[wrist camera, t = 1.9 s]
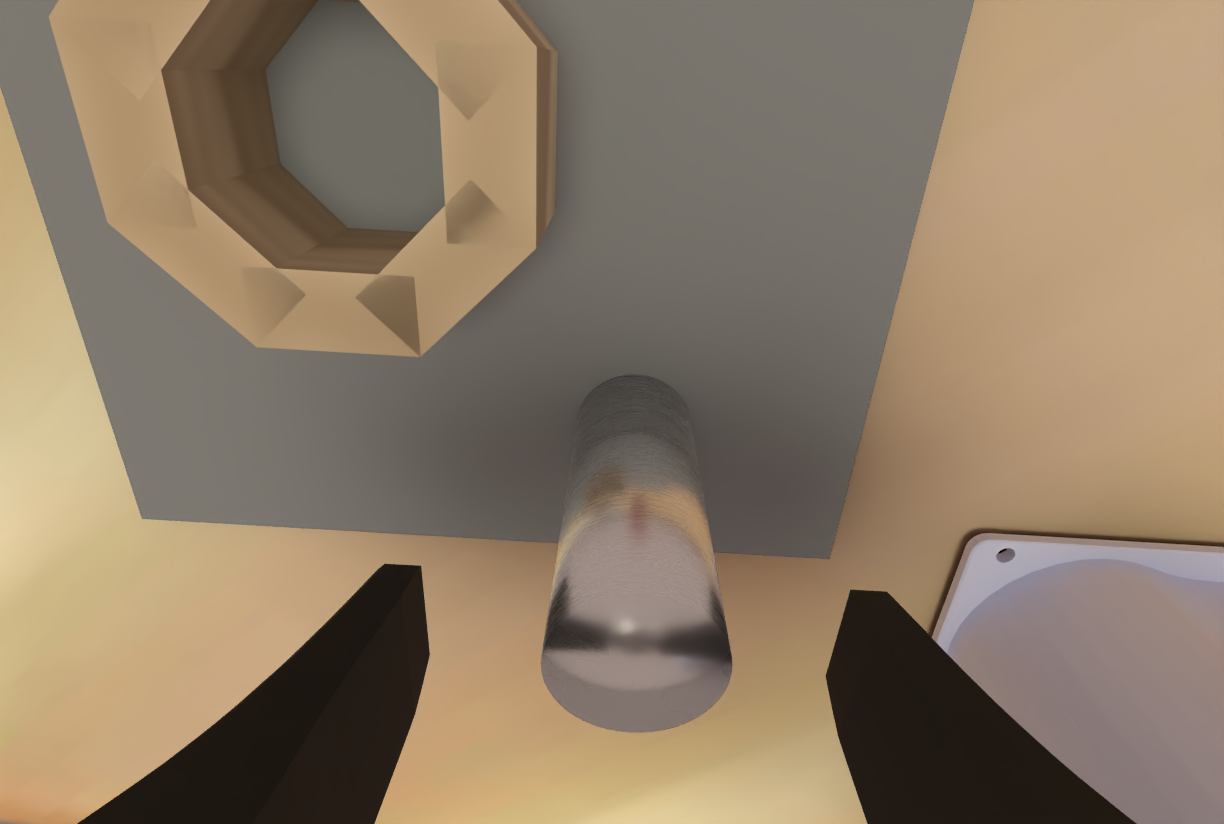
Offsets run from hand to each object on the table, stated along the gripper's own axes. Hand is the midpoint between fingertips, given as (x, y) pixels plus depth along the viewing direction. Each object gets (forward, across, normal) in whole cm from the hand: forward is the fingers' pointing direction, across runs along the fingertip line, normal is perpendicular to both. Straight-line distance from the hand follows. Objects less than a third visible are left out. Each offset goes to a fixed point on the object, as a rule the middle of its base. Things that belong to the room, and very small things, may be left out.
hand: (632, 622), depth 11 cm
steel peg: (+7, 0, 0) cm, 7 cm away
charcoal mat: (+8, +4, -4) cm, 10 cm away
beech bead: (+7, +6, -7) cm, 12 cm away
